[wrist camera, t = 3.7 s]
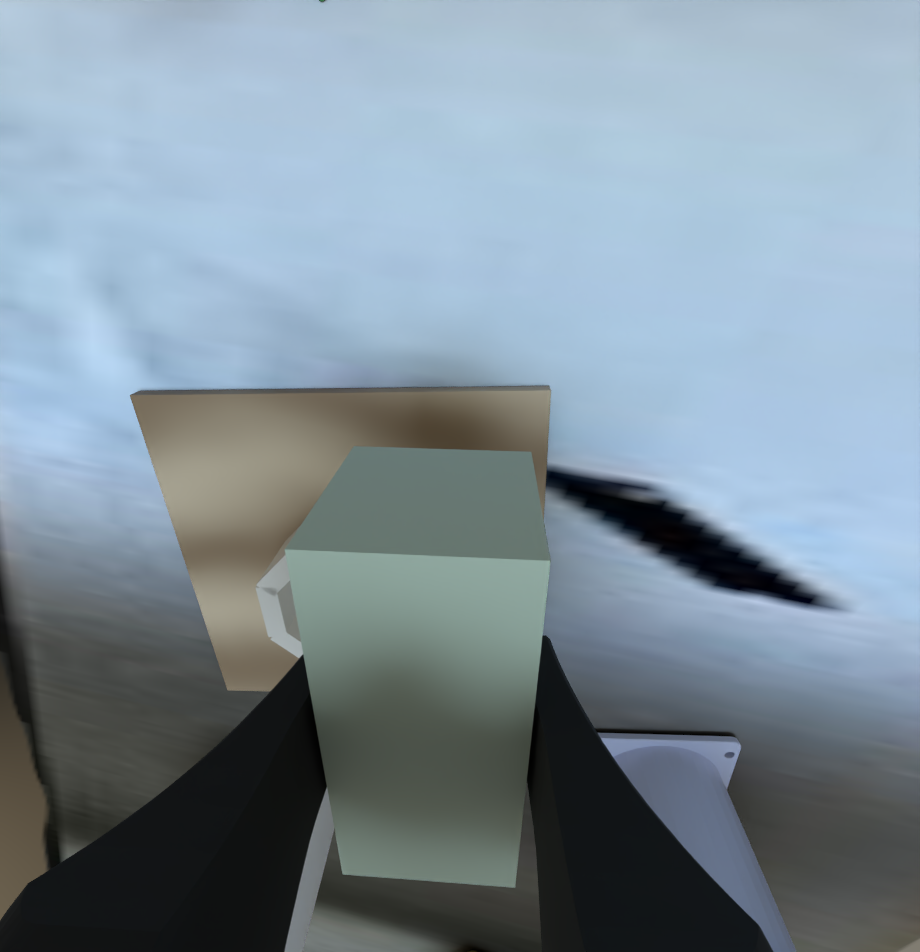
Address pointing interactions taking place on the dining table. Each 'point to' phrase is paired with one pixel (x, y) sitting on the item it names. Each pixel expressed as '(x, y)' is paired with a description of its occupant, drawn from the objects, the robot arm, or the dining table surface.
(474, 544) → the green rectangular block
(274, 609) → the white octagonal prism
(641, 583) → the dining table surface
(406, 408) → the mat
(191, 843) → the robot arm
